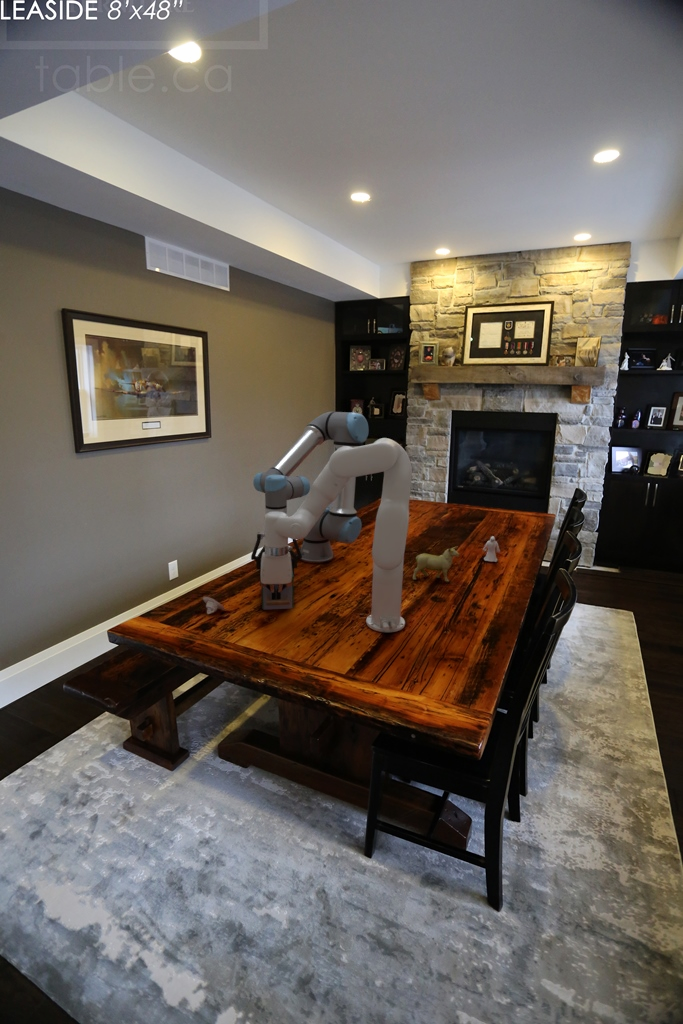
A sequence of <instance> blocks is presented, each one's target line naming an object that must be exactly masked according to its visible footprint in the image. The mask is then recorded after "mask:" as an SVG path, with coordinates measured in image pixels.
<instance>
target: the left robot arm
mask: <svg viewBox="0 0 683 1024" xmlns="http://www.w3.org/2000/svg"><path fill="white" fill-rule="evenodd" d="M369 431H370V430H369V423H368V421H367V419H366V417H365V416H364V415H363V414H361V413H358V412H353V411H351V412H346V411H344V412H343V411H327V412H324V413H322V414H320V415H319V416H317V417H316V418H314V419H313V420H312V421H310V422H309V423H308V424H307V425H306V426H305V427H304V428H303V433H302V434H301V435H300V436H299V437H298V438H297V439H296V440H295V441H294V442H293V443H292V444H291V445H290V447H288V448H287V450H286V451H284V452H283V454H282V455H281V456H280V457H279V458H277V460H276V461H275V462H274V463H273V464H272V465H271V467H270V468H268V469H267V471H266V472H264V471H262V472H259V473H256V474H255V475H254V478H253V482H252V483H253V487H254V489H255V490H256V491H257V492H261V493H263V494H264V498H265V499H264V503H265V505H264V506H265V507H264V509H265V510H264V511H265V513H264V514H265V515H266V514H267V513H269V512H275V511H278V512H284V513H286V514H287V515H288V512H287V511H288V502H287V501H289V500H295V499H299V498H302V497H305V496H308V494H309V493H310V491H311V484H310V481H309V480H308V478H307V477H305V476H301V475H299V476H291V475H292V474H293V473H294V472H295V471H296V469H297V468H299V466H300V465H301V464H302V463H303V461H304V460H305V459H306V458H307V457H308V456H309V455H310V454H311V453H312V452H313V451H314V449H316V447H317V446H321V445H322V444H323V443H324V442H326V441H333V446H334V447H335V450H337V449H338V448H340V447H343V446H349V447H352V448H354V447H359V446H363V443H365V442H366V441H367V439H368V436H369ZM356 478H357V477H351V478H350V480H349V481H348V482H347V484H346V485H345V486H344V488H343V489H342V491H341V492H340V493H339V495H338V496H337V497H336V499H335V500H334V501H333V502H332V506H331V507H329V506H328V507H327V508H326V510H325V511H324V512H323V514H322V515H321V516H320V518H319V519H318V521H317V522H316V523H315V525H314V526H313V528H312V529H311V530H310V532H309V533H308V535H307V536H306V537H305V538H303V539H302V544H301V547H300V546H299V544H298V541H297V539H291V540H292V543H293V546H294V549H295V551H296V552H295V551H294V550H293V549H292V550H290V551H289V552H290V555H291V561H292V569H293V579H294V578H295V569H297V568H298V560H300V561H301V562H303V563H306V564H314V565H315V564H316V565H317V564H327V563H329V562H332V561H333V559H334V552H333V548H332V545H331V542H330V541H333V542H339V543H340V544H352V543H354V542H355V541H356V540H357V539H358V537H359V536H360V533H361V531H362V526H363V525H362V524H363V523H362V521H361V518H359V516H357V515H358V511H357V510H356V508H355V494H356V493H355V492H356ZM265 515H264V516H265ZM264 538H265V532H260V531H259V532H257V533H256V541H255V543H254V548H253V550H252V553H251V556H250V560H252V561H255V565H256V566H255V569H256V570H259V579H260V580H261V559H262V553H263V552H265V544H264V545H263V547H262V548H261V549H260V551H259V552H258V549H259V547H260V545H261V540H263V539H264ZM288 545H289V546H290V544H289V543H288ZM257 552H258V554H257Z"/></svg>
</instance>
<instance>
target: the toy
mask: <svg viewBox="0 0 683 1024" xmlns="http://www.w3.org/2000/svg"><path fill="white" fill-rule="evenodd" d="M458 547H459V546H458V545H456V546H454V547H450V548H447V549H446V550H444V552H443V553H442V554H441V555H435V554H431V553H430V554H429V553H420V554H418V555H416V556H415V563H416V564H417V567H415V568H414V570H413V574H412V580H413V581H417V575H418V573H419V572H421V573H422V574H423V576H424V577H425V578H427V577H428V573H427V571H425V569H427V570H430V571H437V573H436V579H441V576H440V574H441V573H442V574H443V578H444V581H445V583H447V584H448V583H450V580H449V579H448V570H449V569H450V568H451V567H452V564H453V561H454V557H456V558H459V557H460V553H459V552H458V551H457V549H458Z"/></svg>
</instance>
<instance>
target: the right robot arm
mask: <svg viewBox="0 0 683 1024" xmlns="http://www.w3.org/2000/svg"><path fill="white" fill-rule="evenodd" d="M382 472H383V482H382V491H381V498H380V504H379V506H378V509H377V512H376V517H375V524H374V532H373V541H372V548H371V558H372V561H373V563H372V585H371V586H372V587H371V607H370V609H371V613H370V615H368V616H367V617H366V621H365V622H366V623H365V624H366V625H367V627H368V628H369V629H372V630H373V631H376V632H379V633H396V632H398V631H402V630H403V629H404V628H405V626H406V620H405V618H403V617H402V615H401V614H402V599H403V598H402V597H403V580H404V561H405V551H406V545H407V537H408V531H409V523H410V499H411V492H412V491H411V490H412V480H413V467H412V463H411V460H410V456H409V454H408V452H407V451H406V450H405V448H403V446H401V444H399V443H398V442H397V441H396V440H393V439H391V438H387V437H382V438H379V439H377V440H374V442H373V443H369V444H365V445H362V446H359V447H354V448H352V447H349V446H343V447H340V448H338V449H335V450H334V451H333V453H331V455H330V457H329V460H328V461H327V463H326V464H325V466H324V467H323V469H322V470H321V471H320V473H319V474H318V476H317V477H316V478H315V479H314V481H313V483H312V484H311V487H310V491H309V493H308V494H307V495H306V497H305V499H304V500H303V502H302V503H301V505H300V506H299V507H298V509H297V510H296V511H295V512H294V513H293V514H292V515H290V516H288V513H287V514H286V513H284V512H278V511H275V512H269V513H267V514H266V515H264V533H265V537H264V545H265V552H263V553H262V557H261V579H260V582H259V586H260V587H261V586H262V587H267V588H268V589H269V590H270V591H271V593H272V600H277V599H281V592H282V590H283V589H284V588H285V587H289V586H292V585H293V586H294V583H293V584H292V564H291V561H292V556H291V555H290V552H289V551H290V550H293V546H291V545H290V544H289V539H291V540H292V539H296V541H297V540H303V538H305V537H306V536H307V535H308V533H309V532H310V530H311V529H312V528H313V526H314V525H315V523H316V522H317V521H318V519H319V518H320V516H321V515H322V514H323V512H324V511H325V510H326V508H327V507H329V506H330V505H331V504H333V503H334V500H335V499H336V497H337V496H338V495H339V493H340V492H341V491H342V489H343V488H344V486H345V485H346V484H347V482H348V481H349V480H350V478H351V477H356V478H357V477H363V476H367V475H368V476H369V475H373V474H378V473H382ZM288 544H289V545H288ZM274 584H279V585H278V588H277V590H275V588H274Z"/></svg>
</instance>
